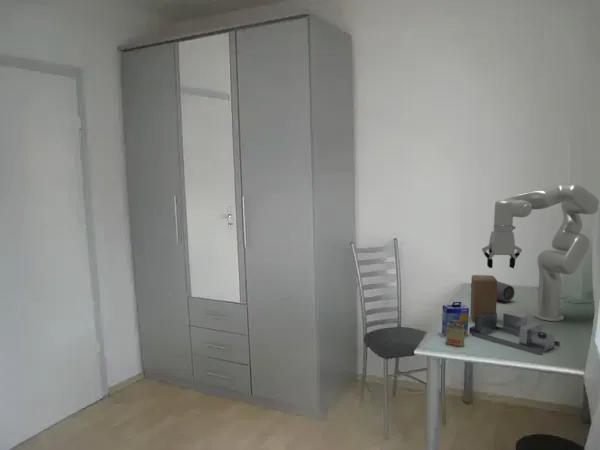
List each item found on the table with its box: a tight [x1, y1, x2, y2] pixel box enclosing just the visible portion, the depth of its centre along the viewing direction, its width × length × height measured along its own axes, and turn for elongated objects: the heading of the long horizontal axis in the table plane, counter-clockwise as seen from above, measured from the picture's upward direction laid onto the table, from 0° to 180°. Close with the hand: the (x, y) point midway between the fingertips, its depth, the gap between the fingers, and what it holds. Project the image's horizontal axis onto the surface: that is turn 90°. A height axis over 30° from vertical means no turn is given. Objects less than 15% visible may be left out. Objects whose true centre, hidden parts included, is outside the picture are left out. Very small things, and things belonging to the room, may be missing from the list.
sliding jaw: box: [518, 321, 556, 352], centre depth 197 cm, size 12×9×8 cm
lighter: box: [445, 319, 465, 347], centre depth 201 cm, size 7×4×10 cm, turn 57°
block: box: [469, 274, 498, 322], centre depth 232 cm, size 10×10×20 cm
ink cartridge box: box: [441, 301, 470, 337], centre depth 212 cm, size 10×6×14 cm, turn 95°
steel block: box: [502, 310, 528, 331], centre depth 218 cm, size 5×8×7 cm, turn 39°
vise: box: [468, 311, 561, 356], centre depth 205 cm, size 16×31×8 cm, turn 39°
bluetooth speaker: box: [497, 280, 515, 302], centre depth 270 cm, size 23×9×10 cm, turn 25°
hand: (500, 267), depth 221 cm, fingers open, 9 cm apart
